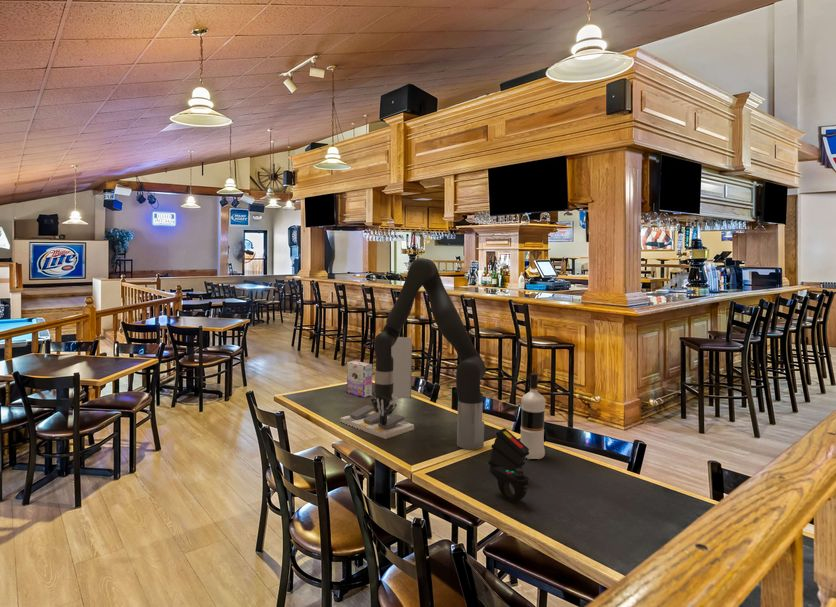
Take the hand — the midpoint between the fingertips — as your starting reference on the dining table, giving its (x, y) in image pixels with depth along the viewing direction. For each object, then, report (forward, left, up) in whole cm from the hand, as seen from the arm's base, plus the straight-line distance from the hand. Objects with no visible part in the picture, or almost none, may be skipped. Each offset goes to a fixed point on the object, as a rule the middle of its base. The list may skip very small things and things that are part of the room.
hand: (383, 424), depth 206 cm
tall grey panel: (+36, -43, -4) cm, 56 cm away
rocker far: (+18, -5, -1) cm, 18 cm away
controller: (-67, +11, -4) cm, 68 cm away
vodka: (-54, -23, -4) cm, 59 cm away
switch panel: (+9, -5, -4) cm, 11 cm away
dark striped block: (-58, -2, -4) cm, 58 cm away
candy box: (+52, -32, -4) cm, 61 cm away
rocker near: (0, -5, -1) cm, 5 cm away
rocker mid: (+9, -5, -1) cm, 10 cm away
